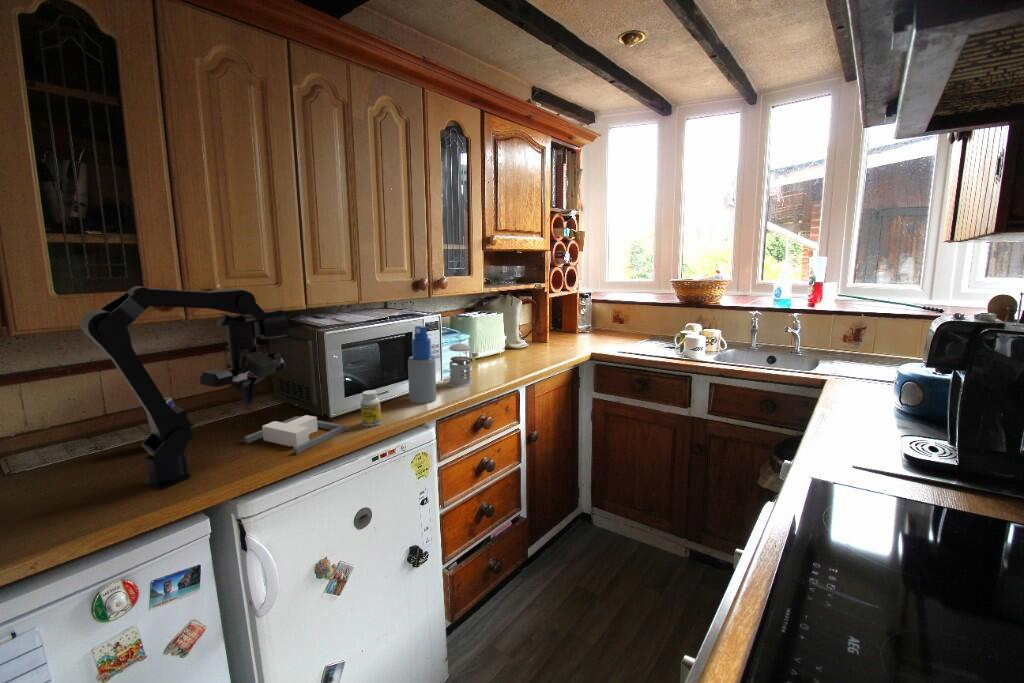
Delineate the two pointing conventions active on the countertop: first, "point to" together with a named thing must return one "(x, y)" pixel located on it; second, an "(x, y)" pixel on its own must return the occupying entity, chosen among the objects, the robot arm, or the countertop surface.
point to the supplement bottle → (370, 408)
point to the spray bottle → (421, 369)
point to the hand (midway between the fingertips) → (248, 404)
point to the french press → (460, 366)
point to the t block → (290, 431)
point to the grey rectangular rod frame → (321, 424)
